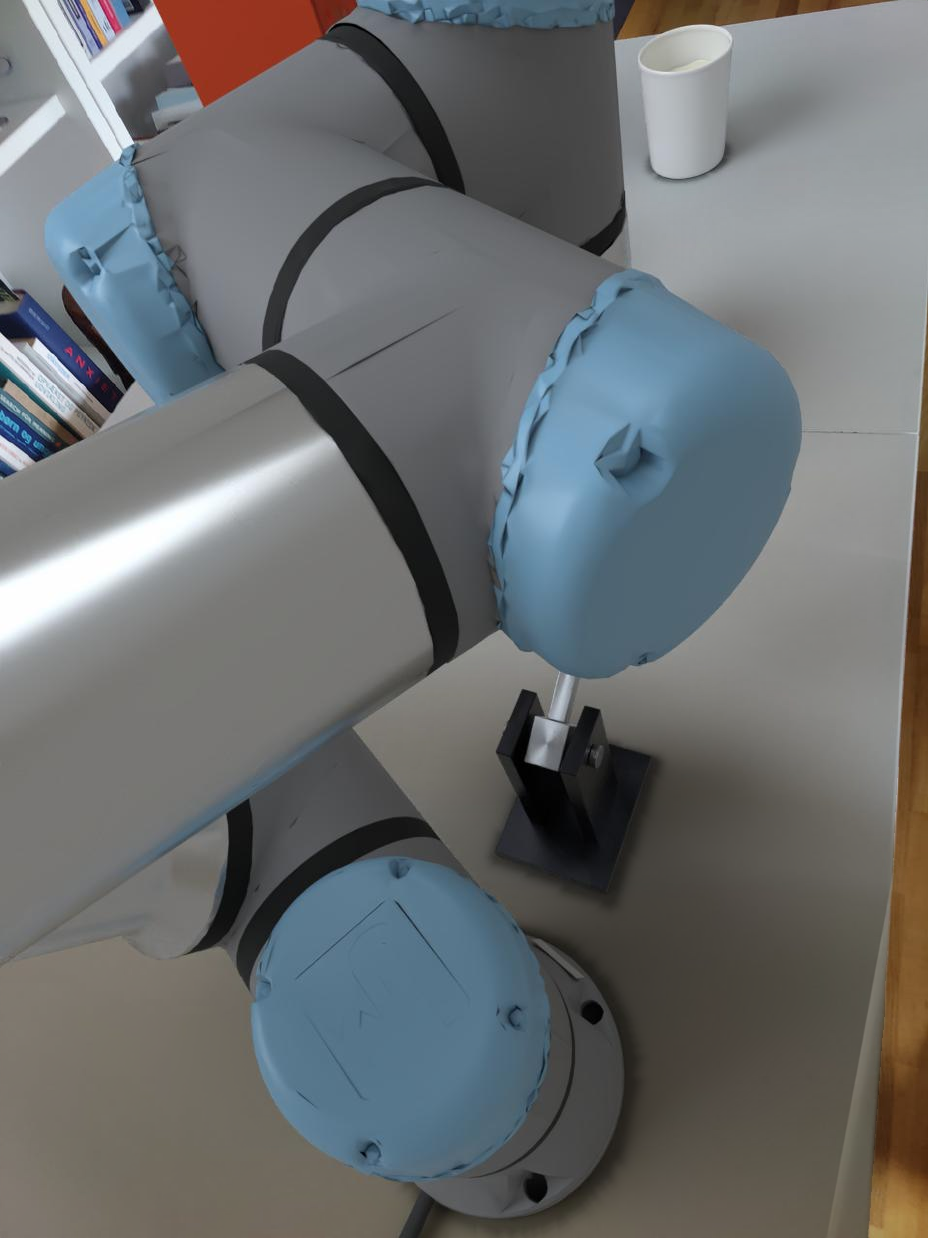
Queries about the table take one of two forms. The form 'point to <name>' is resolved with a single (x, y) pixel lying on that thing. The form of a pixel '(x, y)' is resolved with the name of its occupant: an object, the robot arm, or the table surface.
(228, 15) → the file binder
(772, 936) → the table surface
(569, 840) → the tap bracket
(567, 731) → the tap lever
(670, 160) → the candle holder
